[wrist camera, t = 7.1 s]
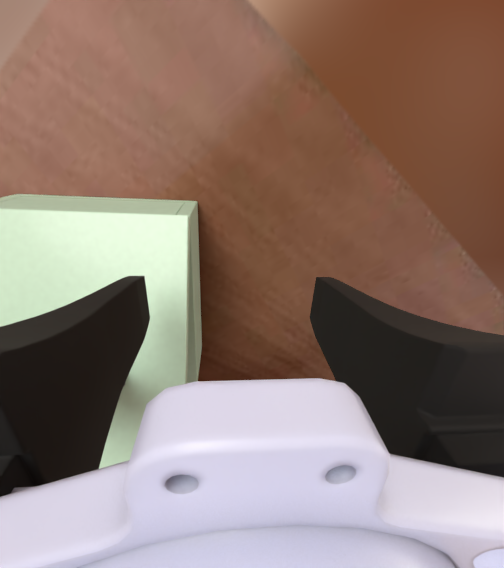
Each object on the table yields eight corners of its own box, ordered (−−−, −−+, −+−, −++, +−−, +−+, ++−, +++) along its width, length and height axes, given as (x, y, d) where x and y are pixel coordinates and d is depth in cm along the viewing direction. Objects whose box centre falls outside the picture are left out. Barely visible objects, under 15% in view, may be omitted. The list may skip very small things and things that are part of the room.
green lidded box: (202, 346, 25) (197, 383, 21) (63, 347, 24) (32, 386, 20) (197, 200, 19) (190, 215, 15) (16, 193, 18) (-40, 206, 14)
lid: (186, 467, 15) (166, 553, 10) (-55, 480, 14) (-211, 584, 9) (190, 219, 16) (174, 182, 11) (-40, 211, 14) (-180, 166, 9)
